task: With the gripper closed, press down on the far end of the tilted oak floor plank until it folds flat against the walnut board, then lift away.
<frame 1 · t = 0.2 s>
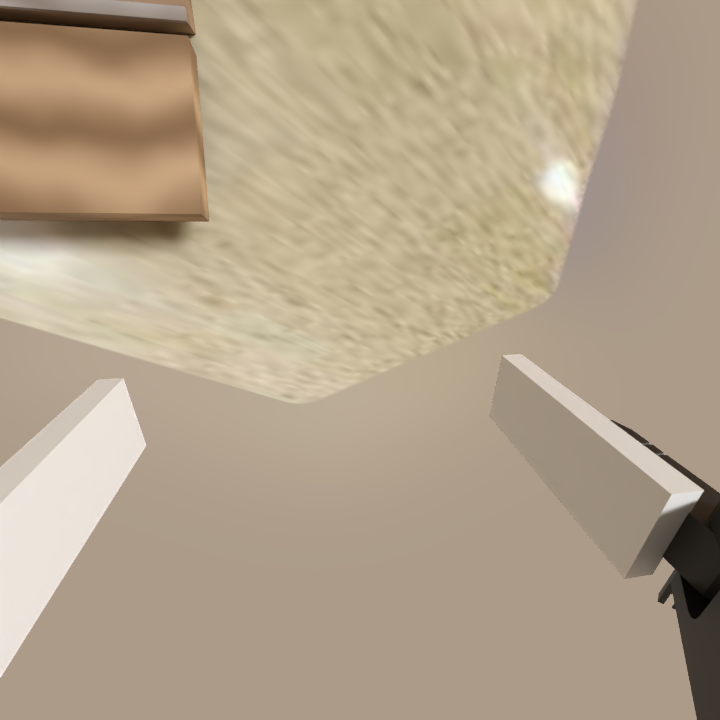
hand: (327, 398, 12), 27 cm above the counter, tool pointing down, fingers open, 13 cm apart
oak plank: (80, 129, 27), point 3 cm above the counter, hinge at 20.0°
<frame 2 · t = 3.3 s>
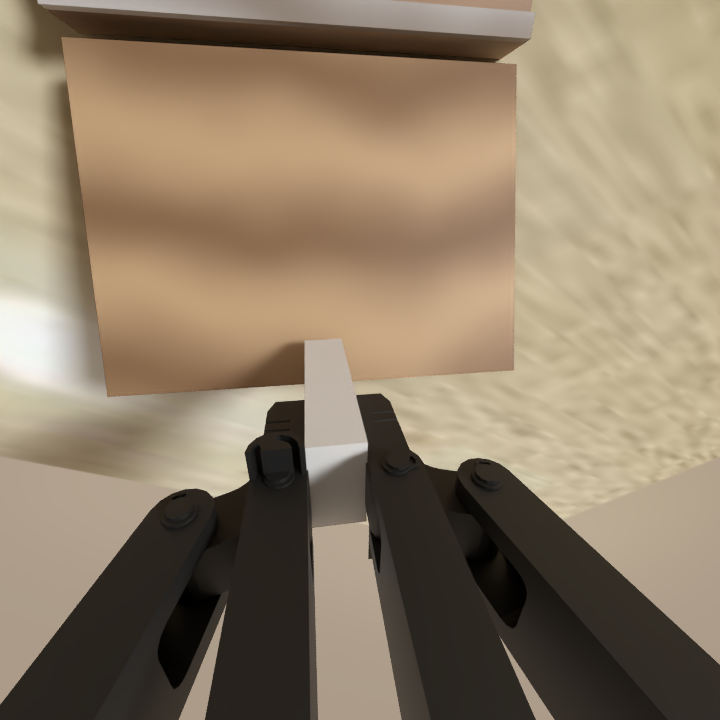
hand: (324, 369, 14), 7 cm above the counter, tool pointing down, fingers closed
oak plank: (317, 232, 15), point 3 cm above the counter, hinge at 20.0°, touching gripper
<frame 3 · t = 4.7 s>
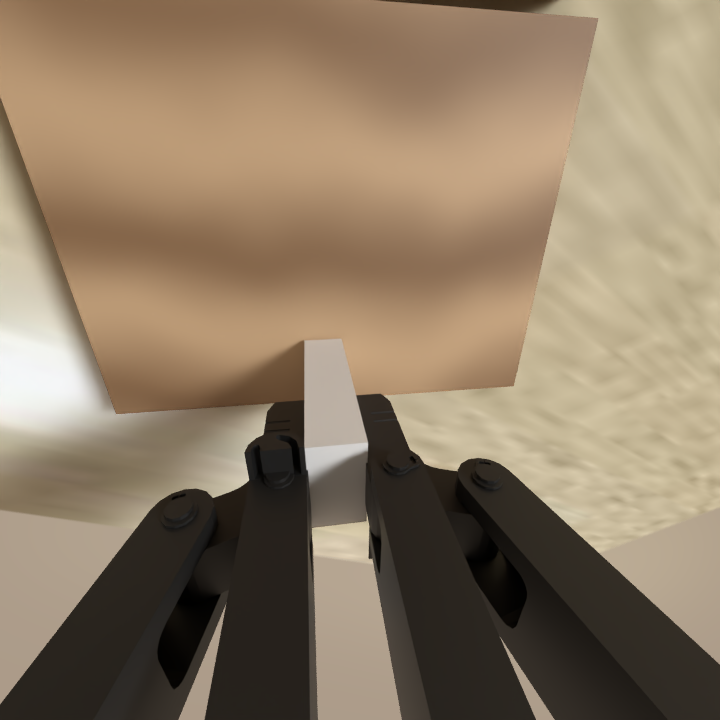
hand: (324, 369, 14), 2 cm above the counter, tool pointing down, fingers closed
oak plank: (322, 240, 13), point 1 cm above the counter, hinge at 1.5°, touching gripper
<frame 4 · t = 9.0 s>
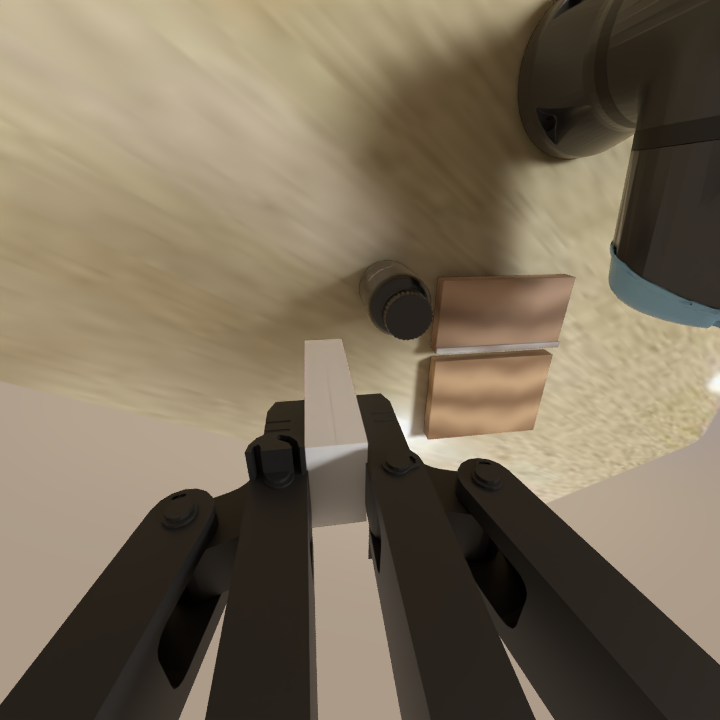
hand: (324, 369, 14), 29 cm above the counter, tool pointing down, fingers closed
oak plank: (485, 395, 52), point 1 cm above the counter, hinge at 1.5°
supplement bottle: (384, 286, 44), on the counter
walnut board: (496, 311, 47), on the counter
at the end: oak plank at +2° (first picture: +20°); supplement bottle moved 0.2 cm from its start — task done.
